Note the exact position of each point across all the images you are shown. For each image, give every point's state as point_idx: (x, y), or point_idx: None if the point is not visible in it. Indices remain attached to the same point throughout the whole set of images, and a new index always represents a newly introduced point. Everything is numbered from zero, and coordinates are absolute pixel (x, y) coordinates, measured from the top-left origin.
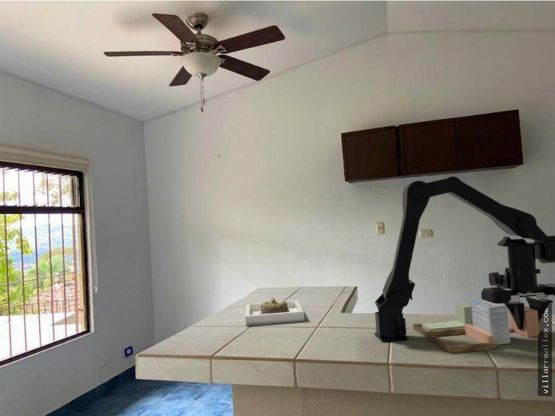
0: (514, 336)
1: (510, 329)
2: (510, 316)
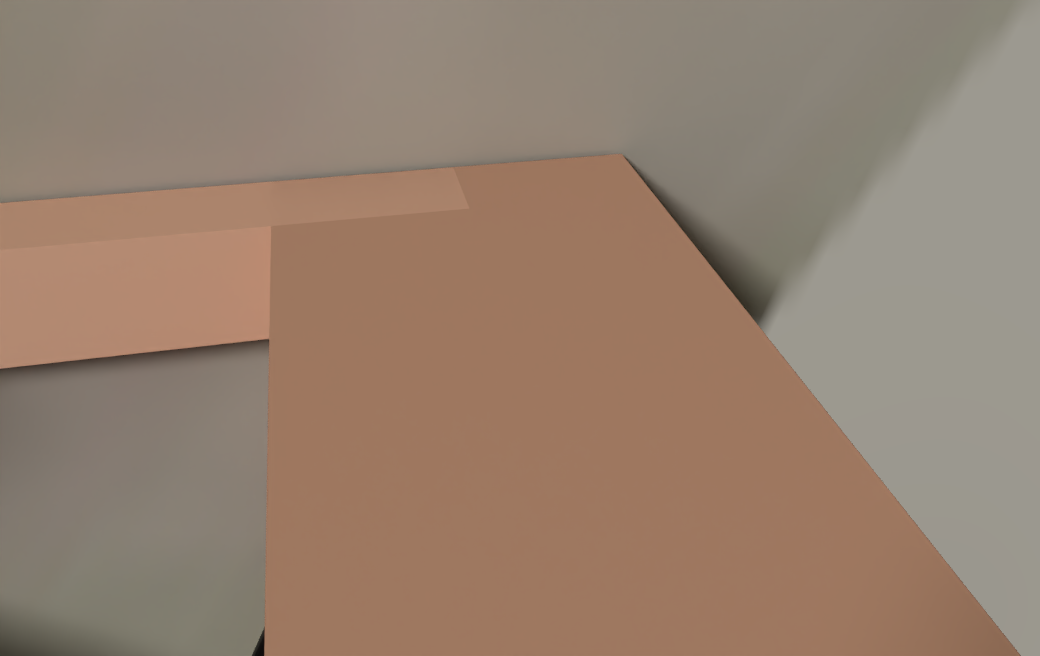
0: (113, 599)
1: (192, 325)
2: (276, 497)
